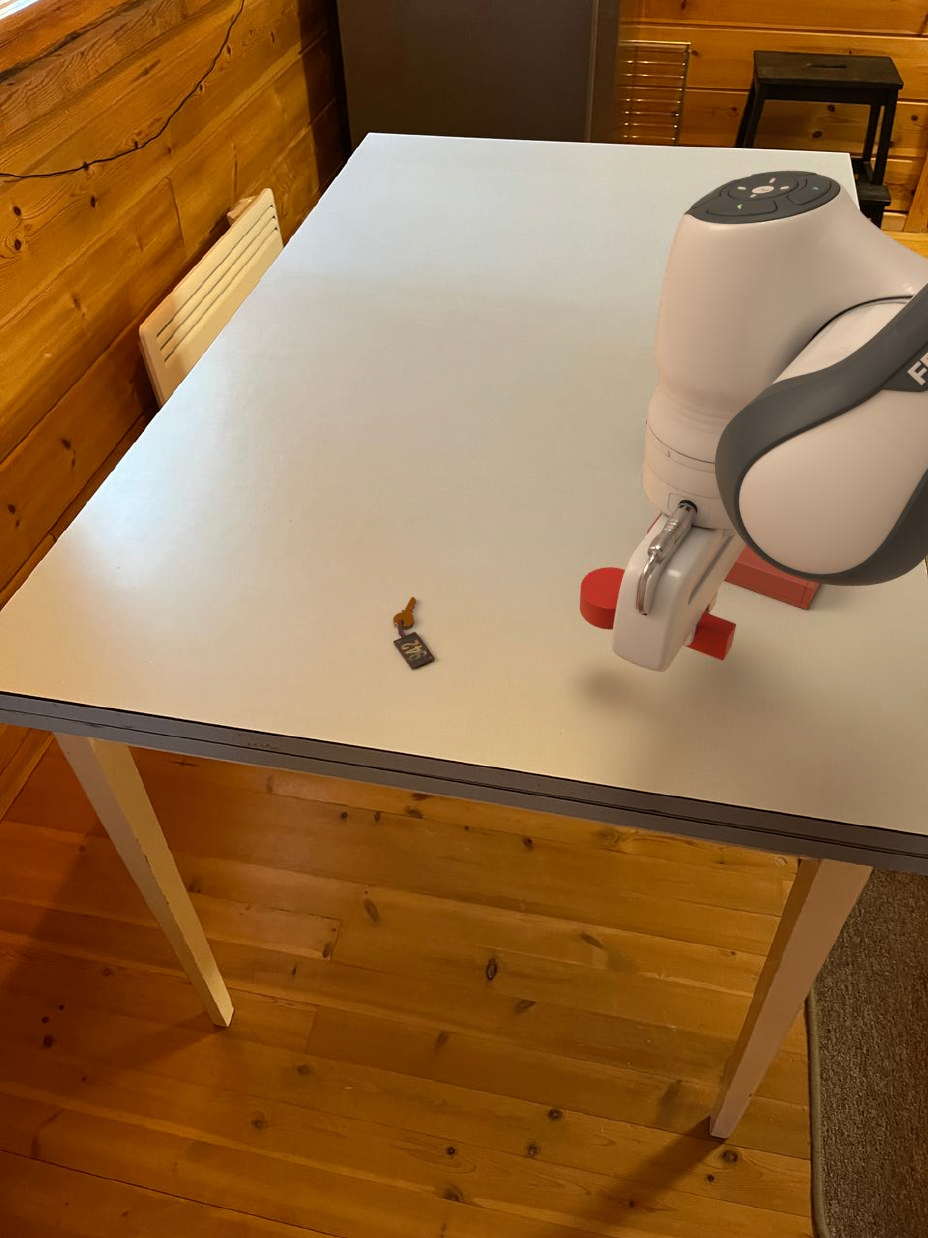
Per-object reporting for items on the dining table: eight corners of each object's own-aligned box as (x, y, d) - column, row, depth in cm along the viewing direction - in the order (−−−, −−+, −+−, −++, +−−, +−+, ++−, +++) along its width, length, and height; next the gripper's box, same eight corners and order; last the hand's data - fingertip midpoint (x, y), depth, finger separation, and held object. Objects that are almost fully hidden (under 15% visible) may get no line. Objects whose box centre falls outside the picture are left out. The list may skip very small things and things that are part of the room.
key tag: (436, 663, 77) (436, 659, 77) (401, 671, 77) (400, 666, 76) (415, 597, 83) (414, 593, 82) (382, 604, 82) (381, 599, 82)
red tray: (845, 536, 86) (852, 514, 84) (806, 610, 80) (813, 588, 78) (692, 487, 92) (695, 465, 91) (644, 551, 86) (647, 530, 84)
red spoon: (739, 634, 66) (744, 610, 65) (715, 674, 64) (720, 651, 62) (596, 581, 71) (597, 557, 69) (569, 616, 69) (570, 593, 67)
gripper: (699, 582, 48) (672, 743, 58) (823, 393, 60) (783, 554, 70) (590, 544, 51) (582, 704, 61) (730, 370, 63) (704, 528, 72)
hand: (690, 623), depth 65 cm, fingers closed on red spoon, 1 cm apart
